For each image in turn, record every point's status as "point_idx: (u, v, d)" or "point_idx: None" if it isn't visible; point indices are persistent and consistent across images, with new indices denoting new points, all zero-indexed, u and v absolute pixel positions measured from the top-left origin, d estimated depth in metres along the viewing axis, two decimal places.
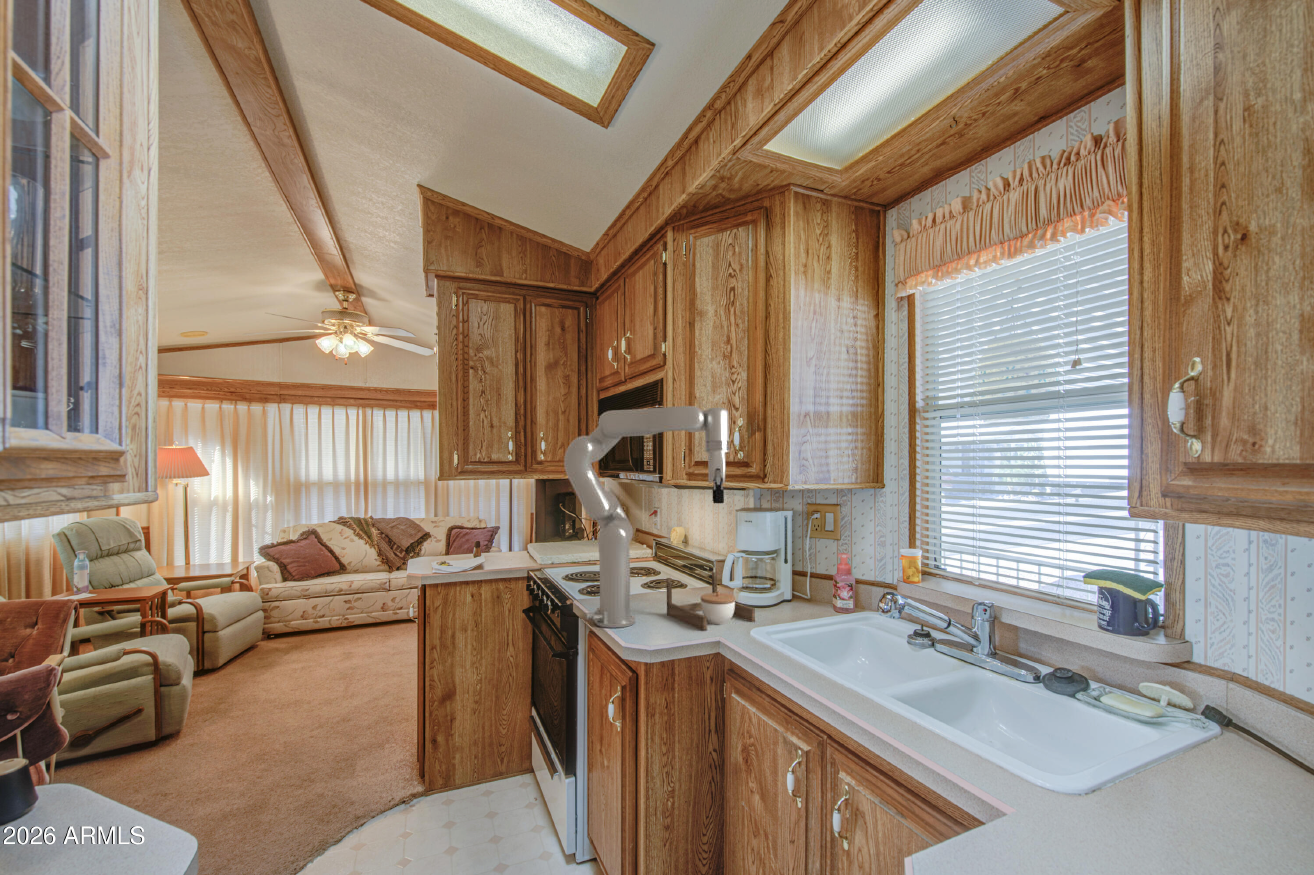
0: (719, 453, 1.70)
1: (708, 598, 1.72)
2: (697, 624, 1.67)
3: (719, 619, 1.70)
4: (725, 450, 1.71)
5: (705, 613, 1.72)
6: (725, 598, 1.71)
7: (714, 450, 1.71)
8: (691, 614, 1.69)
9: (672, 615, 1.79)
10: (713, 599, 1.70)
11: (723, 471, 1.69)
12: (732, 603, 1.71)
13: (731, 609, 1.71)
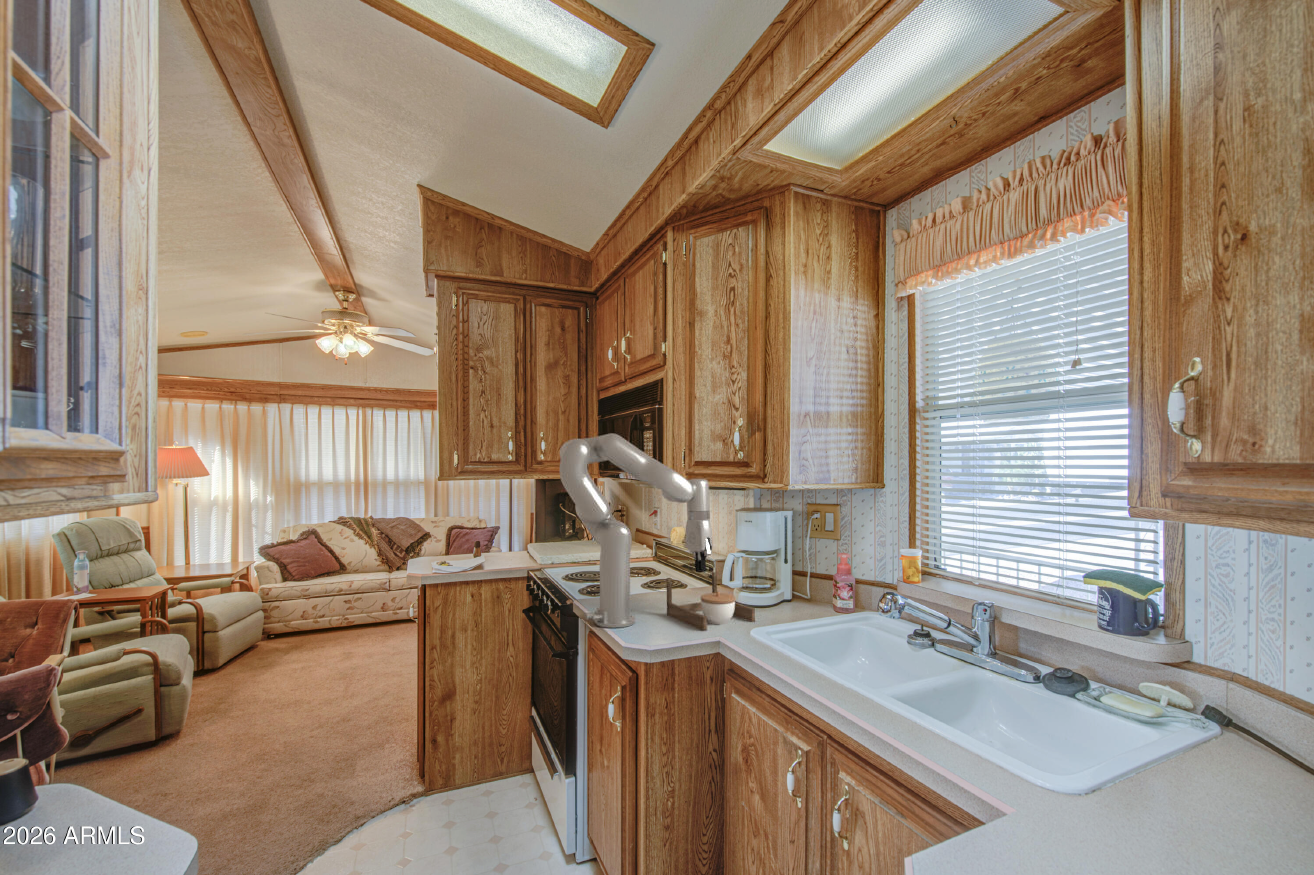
0: (708, 523, 1.81)
1: (708, 598, 1.72)
2: (697, 624, 1.67)
3: (719, 619, 1.70)
4: (709, 519, 1.84)
5: (705, 613, 1.72)
6: (725, 598, 1.71)
7: (702, 520, 1.81)
8: (691, 614, 1.69)
9: (672, 615, 1.79)
10: (713, 599, 1.70)
11: None
12: (732, 603, 1.71)
13: (731, 609, 1.71)
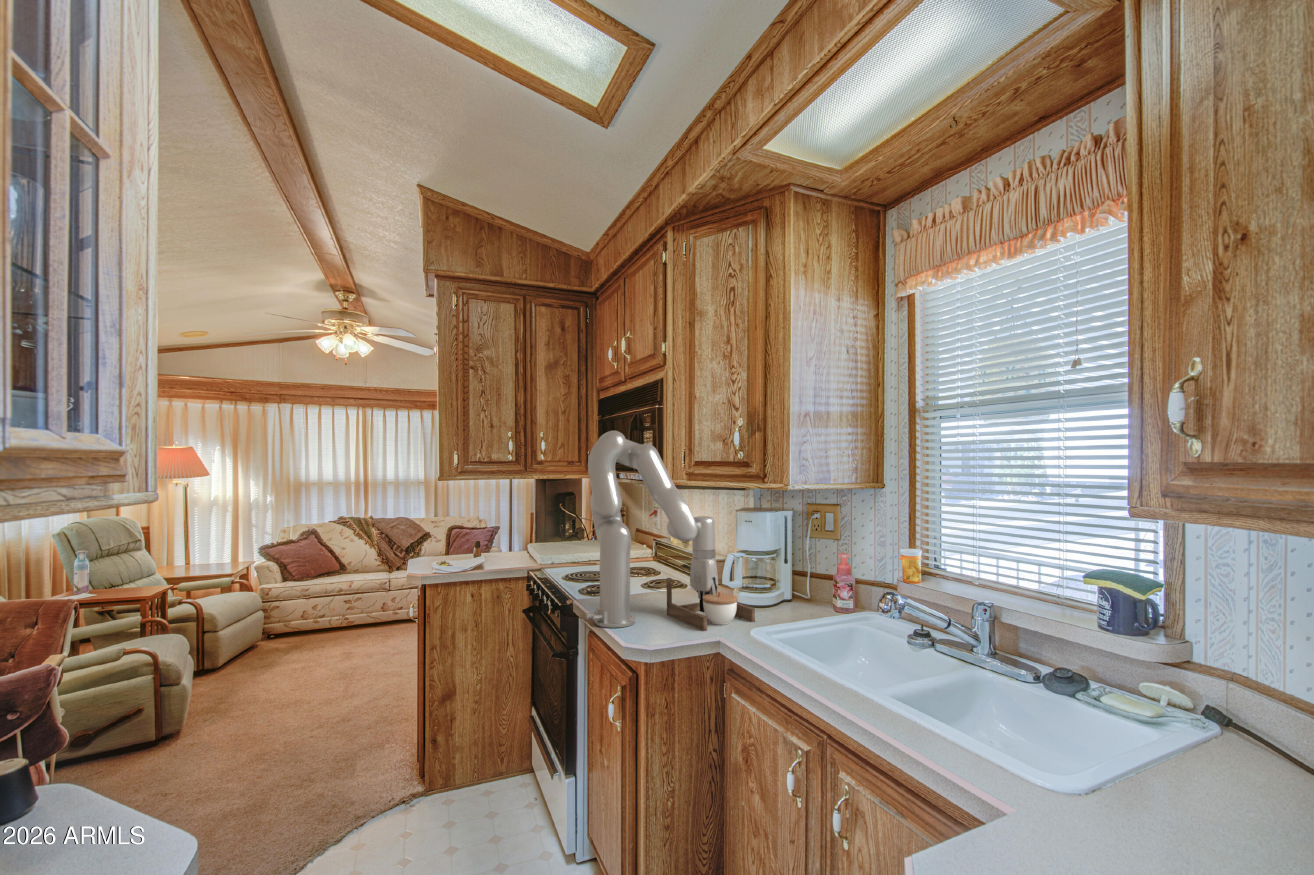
0: (713, 562, 1.78)
1: (710, 598, 1.71)
2: (697, 624, 1.67)
3: (720, 620, 1.69)
4: (715, 558, 1.80)
5: (707, 613, 1.71)
6: (727, 598, 1.70)
7: (708, 559, 1.78)
8: (691, 614, 1.69)
9: (672, 615, 1.79)
10: (714, 599, 1.69)
11: (717, 579, 1.78)
12: (734, 604, 1.70)
13: (733, 610, 1.70)
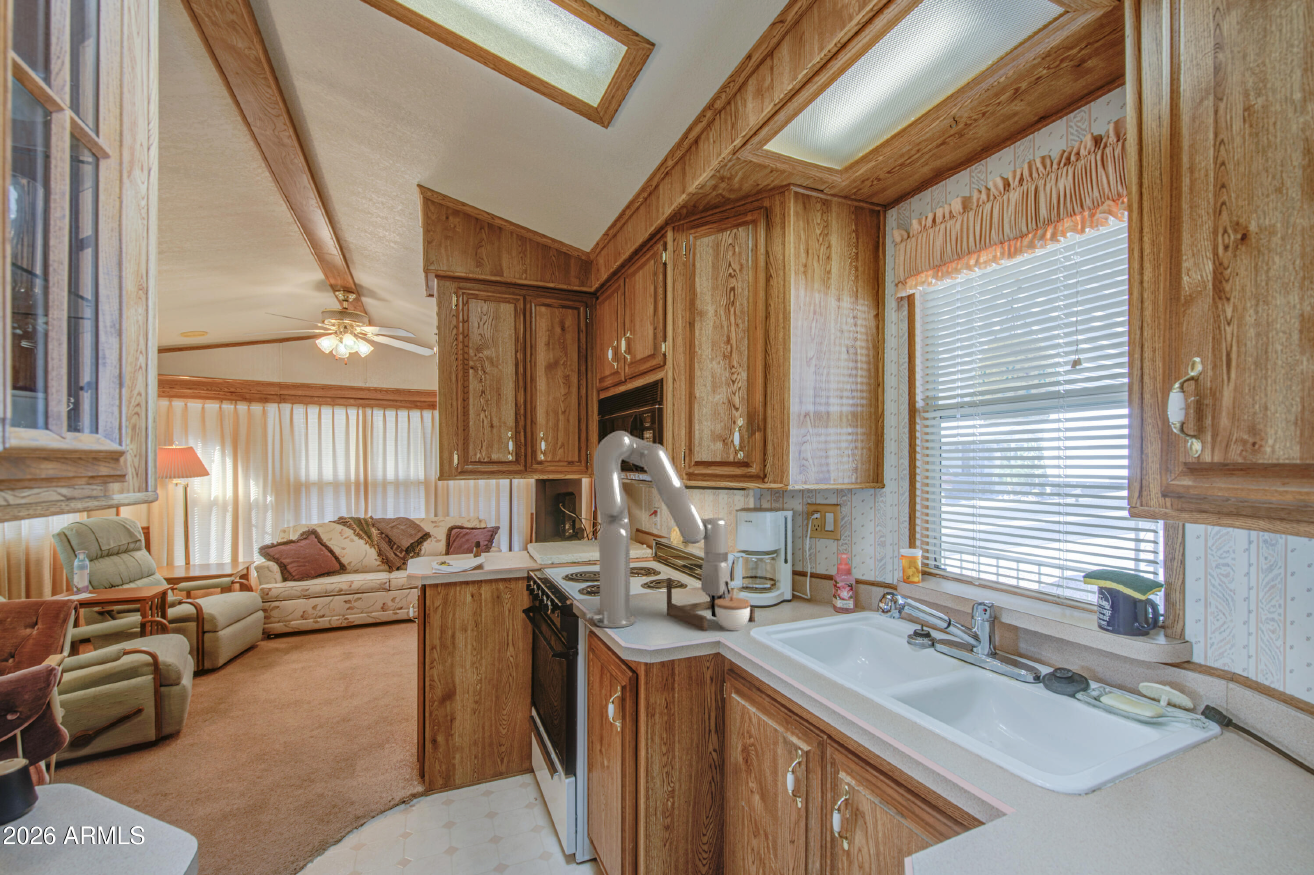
0: (726, 565, 1.72)
1: (721, 603, 1.65)
2: (697, 624, 1.67)
3: (732, 625, 1.63)
4: (727, 561, 1.75)
5: (718, 618, 1.65)
6: (739, 603, 1.64)
7: (720, 562, 1.72)
8: (691, 614, 1.69)
9: (672, 615, 1.79)
10: (726, 604, 1.64)
11: (730, 583, 1.72)
12: (746, 609, 1.64)
13: (745, 615, 1.63)
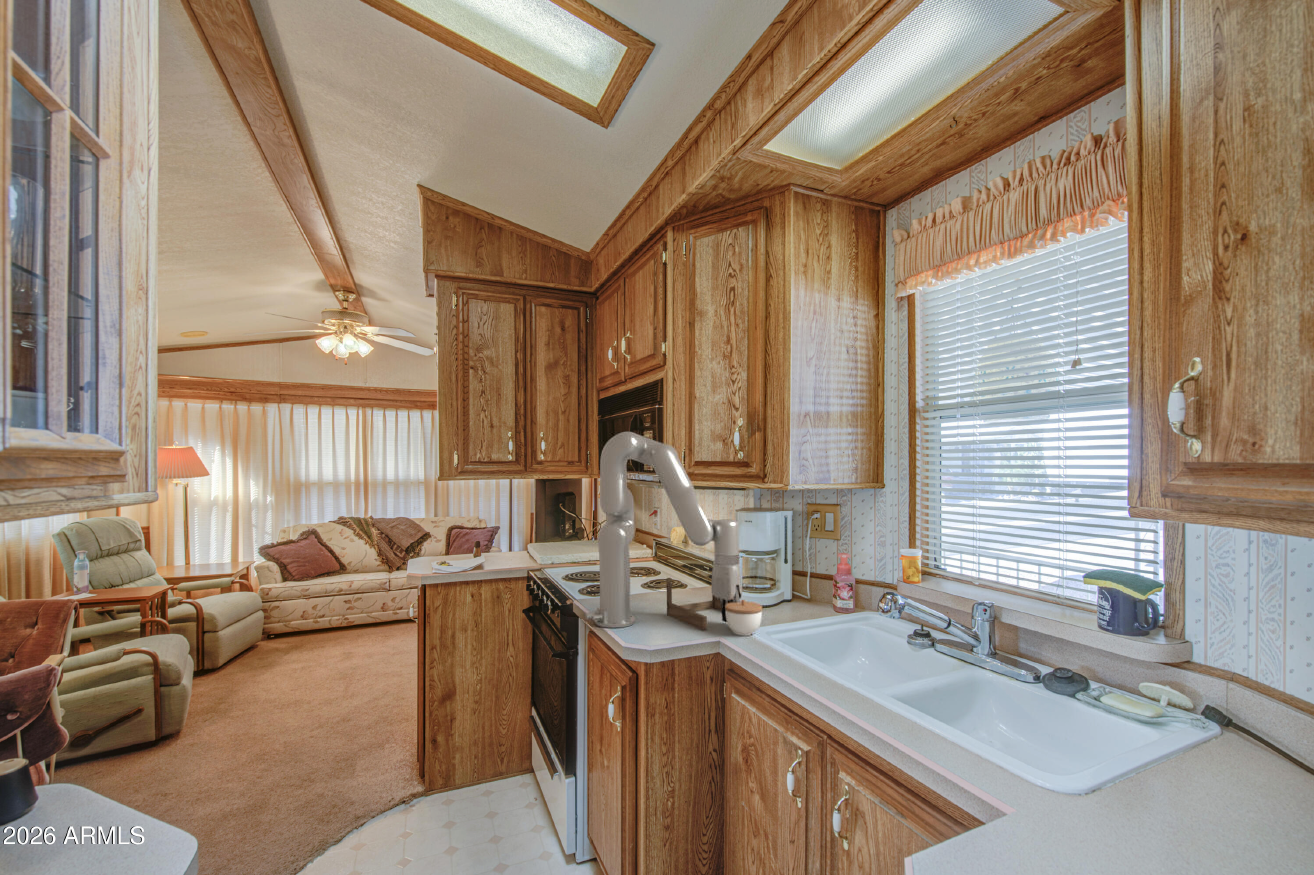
0: (737, 568, 1.67)
1: (731, 607, 1.60)
2: (697, 624, 1.67)
3: (743, 630, 1.58)
4: (738, 564, 1.70)
5: (728, 623, 1.60)
6: (750, 608, 1.59)
7: (731, 565, 1.67)
8: (691, 614, 1.69)
9: (672, 615, 1.79)
10: (736, 608, 1.59)
11: (741, 587, 1.67)
12: (757, 613, 1.58)
13: (756, 620, 1.58)
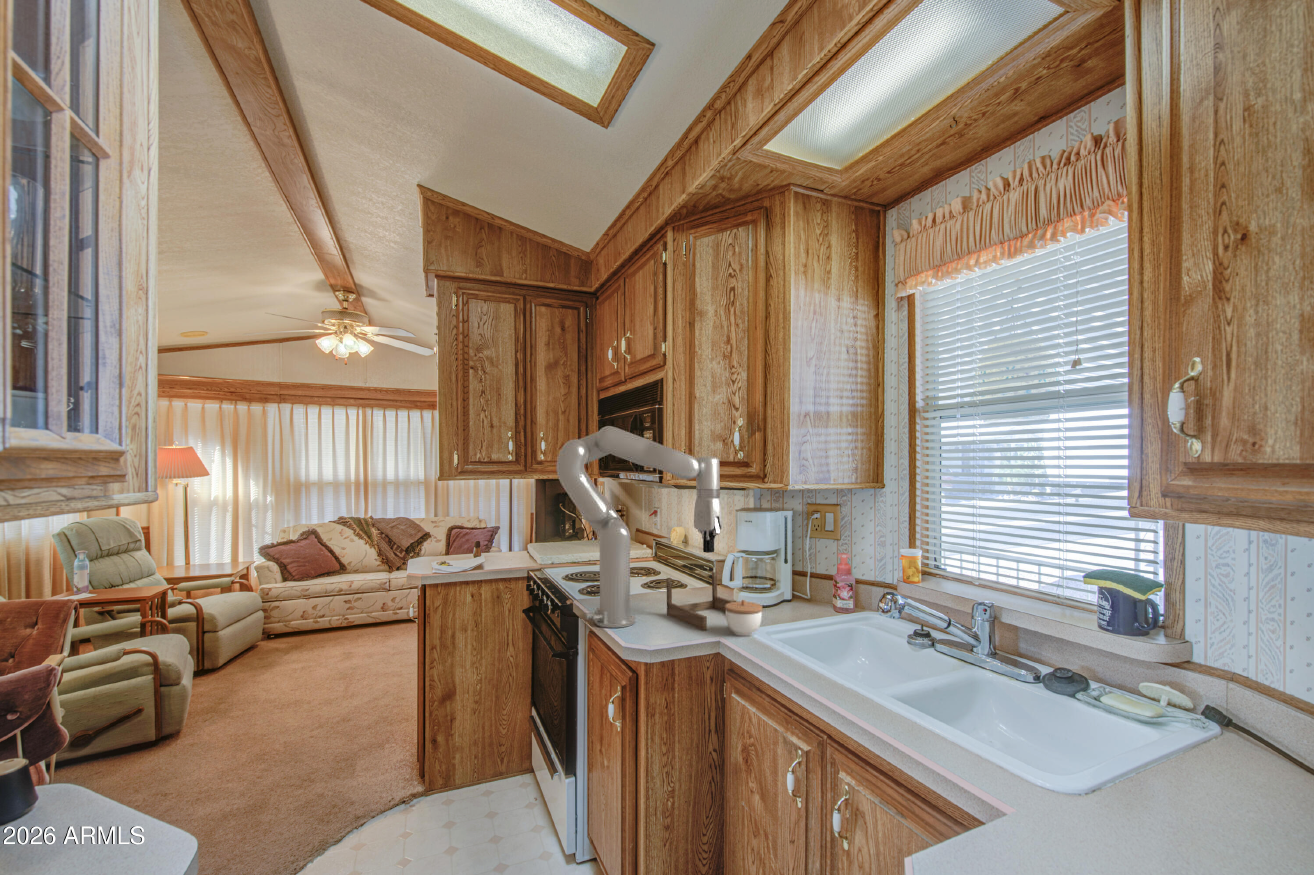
0: (717, 501, 1.76)
1: (731, 607, 1.60)
2: (697, 624, 1.67)
3: (743, 630, 1.58)
4: (719, 498, 1.78)
5: (728, 623, 1.60)
6: (750, 608, 1.59)
7: (712, 498, 1.76)
8: (691, 614, 1.69)
9: (672, 615, 1.79)
10: (736, 608, 1.59)
11: (721, 519, 1.76)
12: (757, 613, 1.58)
13: (756, 620, 1.58)
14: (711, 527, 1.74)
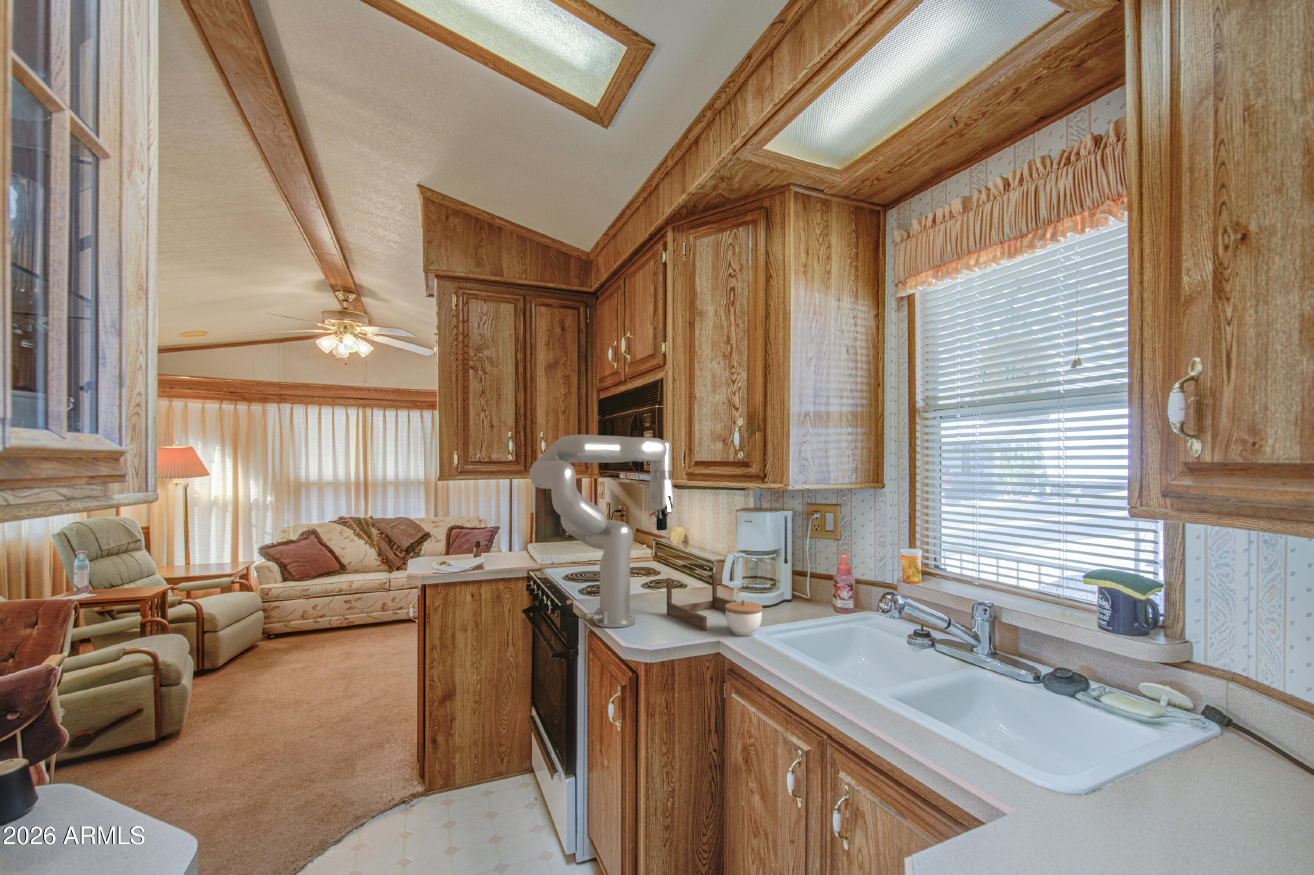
0: (669, 482, 1.87)
1: (732, 607, 1.60)
2: (697, 624, 1.67)
3: (743, 630, 1.58)
4: (671, 479, 1.89)
5: (728, 623, 1.60)
6: (750, 608, 1.59)
7: (664, 479, 1.87)
8: (691, 614, 1.69)
9: (672, 615, 1.79)
10: (736, 608, 1.59)
11: (672, 498, 1.87)
12: (757, 613, 1.58)
13: (756, 620, 1.58)
14: (663, 506, 1.85)
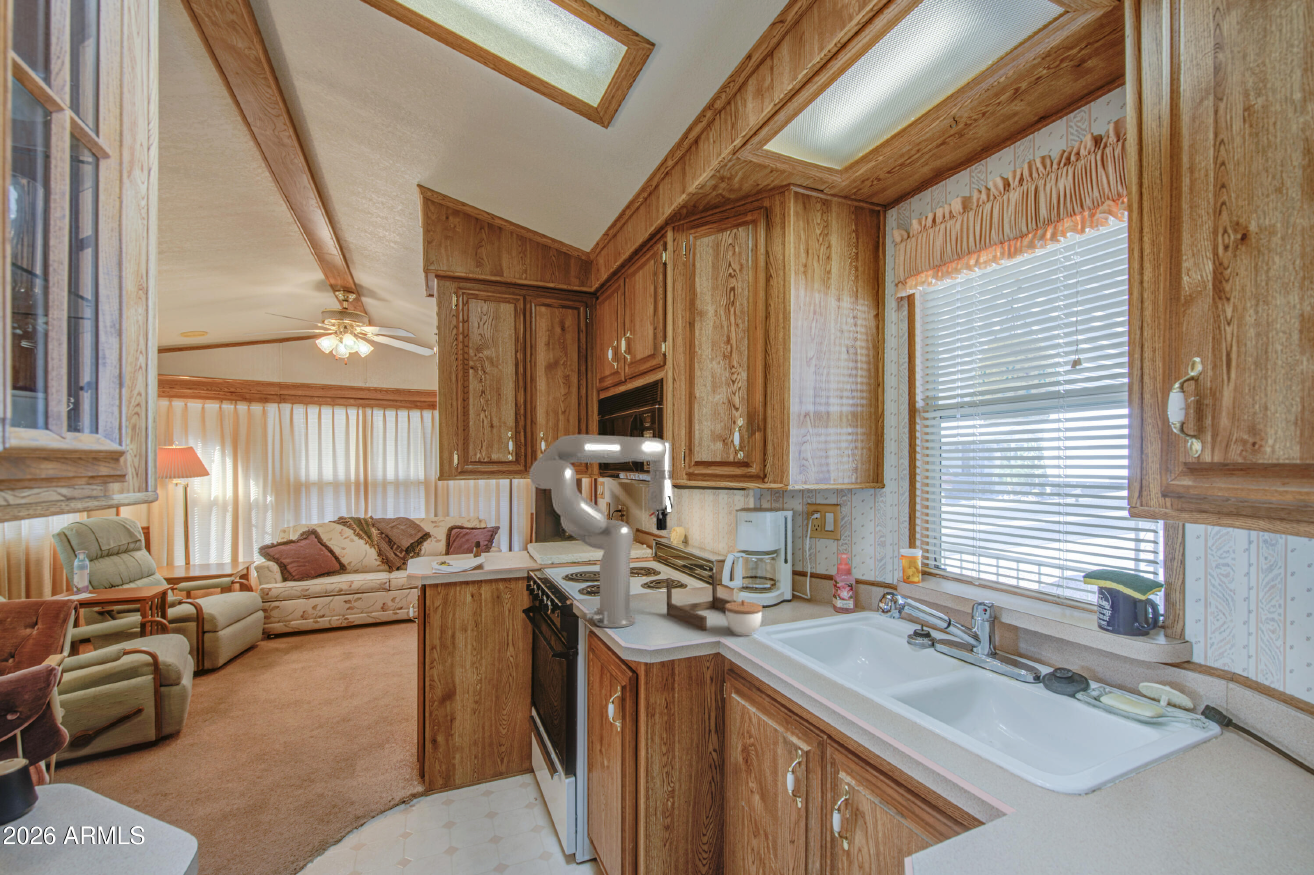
0: (669, 482, 1.87)
1: (732, 607, 1.60)
2: (697, 624, 1.67)
3: (743, 630, 1.58)
4: (671, 479, 1.90)
5: (728, 623, 1.60)
6: (750, 608, 1.59)
7: (664, 479, 1.87)
8: (691, 614, 1.69)
9: (672, 615, 1.79)
10: (736, 608, 1.59)
11: (672, 498, 1.87)
12: (757, 613, 1.58)
13: (756, 620, 1.58)
14: (662, 506, 1.85)
